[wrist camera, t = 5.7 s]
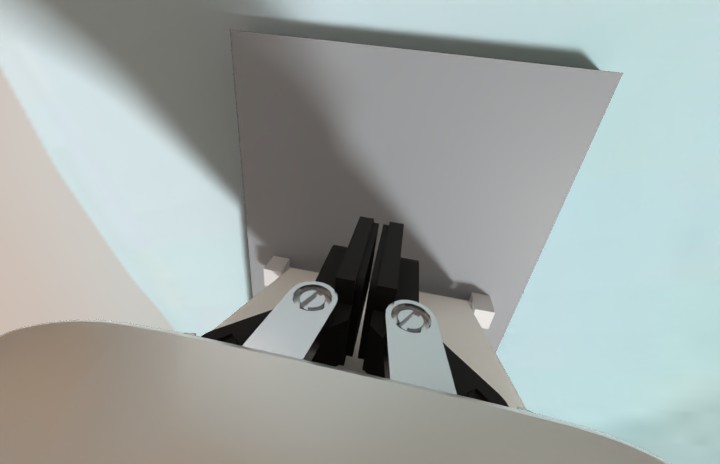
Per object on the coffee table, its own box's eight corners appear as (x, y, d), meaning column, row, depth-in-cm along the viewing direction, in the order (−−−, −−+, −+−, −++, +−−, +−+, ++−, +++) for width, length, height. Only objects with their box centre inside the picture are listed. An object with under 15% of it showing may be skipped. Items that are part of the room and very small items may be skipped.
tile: (120, 404, 7) (120, 443, 7) (587, 521, 6) (572, 562, 6) (290, 268, 18) (288, 285, 18) (466, 301, 17) (463, 319, 17)
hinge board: (247, 33, 15) (211, 25, 12) (602, 72, 13) (646, 73, 11) (267, 367, 26) (251, 398, 24) (458, 409, 25) (463, 448, 22)
